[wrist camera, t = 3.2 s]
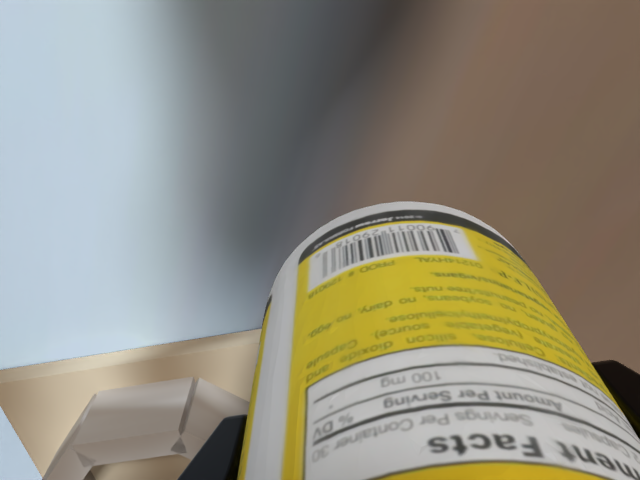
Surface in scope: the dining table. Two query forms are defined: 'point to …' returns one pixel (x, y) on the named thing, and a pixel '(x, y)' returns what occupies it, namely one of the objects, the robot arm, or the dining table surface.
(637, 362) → the dining table surface
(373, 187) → the dining table surface
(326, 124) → the dining table surface
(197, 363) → the octagonal ring stand
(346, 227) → the supplement bottle
